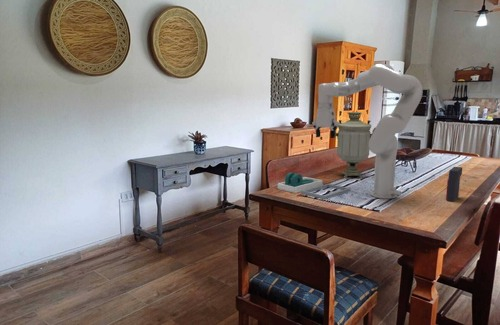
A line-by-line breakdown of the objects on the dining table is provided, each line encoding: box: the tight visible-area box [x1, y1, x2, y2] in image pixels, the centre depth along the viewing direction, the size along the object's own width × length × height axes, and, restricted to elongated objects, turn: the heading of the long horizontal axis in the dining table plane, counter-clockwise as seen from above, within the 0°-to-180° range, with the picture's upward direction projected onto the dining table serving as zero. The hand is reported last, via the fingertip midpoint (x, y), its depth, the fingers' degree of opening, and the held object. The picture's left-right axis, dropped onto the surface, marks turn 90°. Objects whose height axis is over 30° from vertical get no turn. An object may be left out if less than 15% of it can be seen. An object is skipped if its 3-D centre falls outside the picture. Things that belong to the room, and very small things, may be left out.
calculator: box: [445, 166, 463, 202], centre depth 174 cm, size 11×4×15 cm, turn 141°
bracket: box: [284, 172, 314, 187], centre depth 201 cm, size 18×7×8 cm, turn 130°
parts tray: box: [277, 176, 324, 194], centre depth 202 cm, size 13×24×3 cm, turn 132°
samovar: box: [335, 111, 376, 179], centre depth 227 cm, size 30×26×40 cm
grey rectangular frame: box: [301, 183, 352, 200], centre depth 190 cm, size 15×23×2 cm, turn 132°
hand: (325, 137), depth 201 cm, fingers open, 9 cm apart
